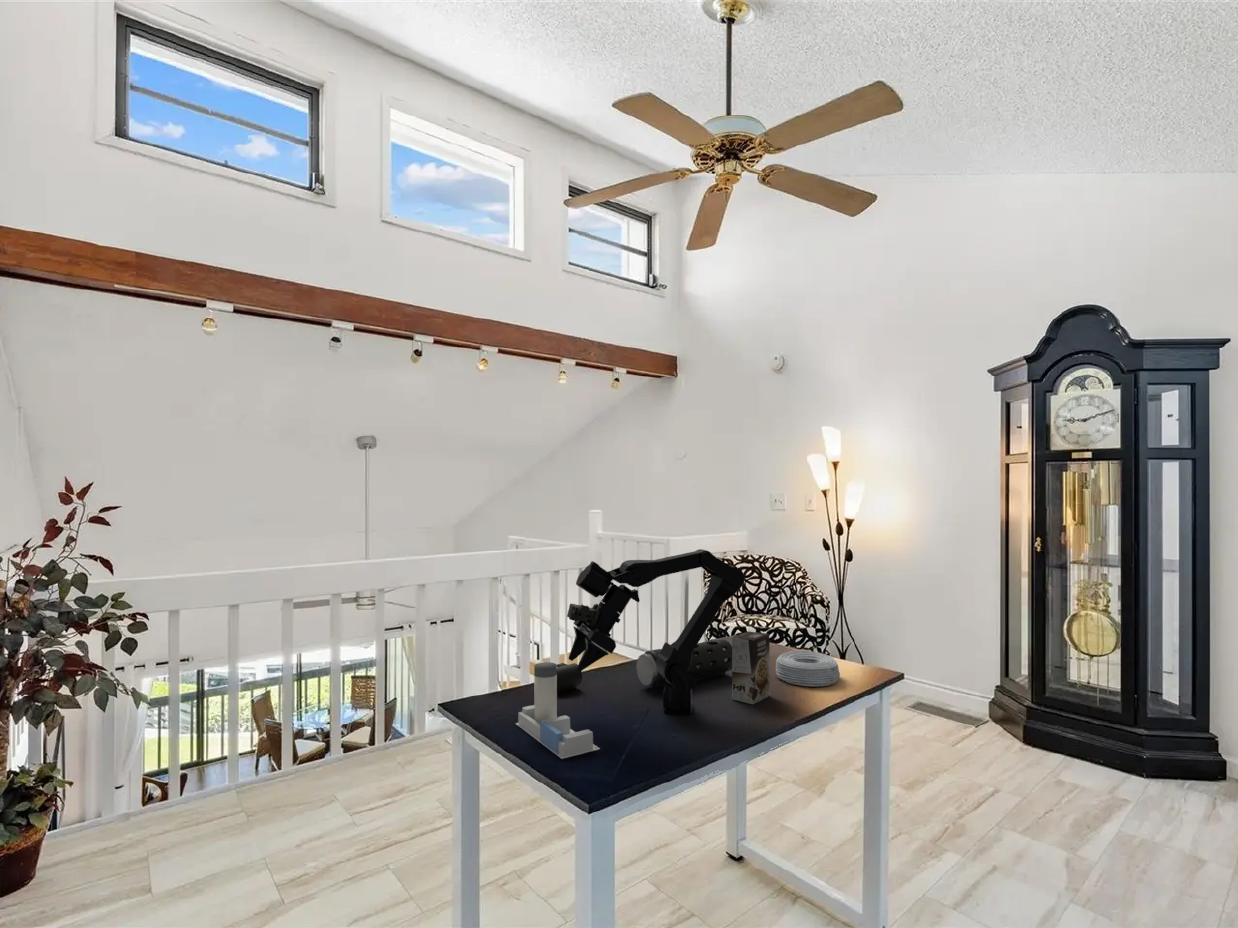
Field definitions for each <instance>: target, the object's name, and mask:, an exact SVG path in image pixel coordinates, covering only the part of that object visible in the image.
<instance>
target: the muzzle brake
mask: <svg viewBox="0 0 1238 928" xmlns="http://www.w3.org/2000/svg"><path fill="white" fill-rule="evenodd" d="M661 650H662V648H658V649H656V648H655V649H652V650H647V651H645V652H644V653H642V654H640V655H639V656H638V657H637V660H636V672H637V676H638V679H639V681H640V683H642V685H644V686H646V687H647V686H650V687H652V688H657V687H661V686H662V687H663V686H664V688H665V685H666V683H667V682H666V681H665V680H664V678H663V676H662V675H661V674H660V673H659V672H658V671H657V669H656V660H657V658H658V657H657V656H656V655H657V654H658V653H659V652H660V651H661ZM730 671H731V672H732V643H730V642H729V641H728V640H727V639H717V640H712V641H705V642H700V643H699V642H698V644H697V645H696V647H695V648H694V650H693V653H692V658H691V664H690V666H689V669H688V671H687V672H688V673H689V674H690V675H691V676H692V677H693V678H695V679H696V680H704V679H709V678H715V677H720V676H724V675H726V673H727V672H730Z"/></svg>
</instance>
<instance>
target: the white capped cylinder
mask: <svg viewBox="0 0 1238 928" xmlns="http://www.w3.org/2000/svg"><path fill="white" fill-rule="evenodd" d="M533 667H534V668H533V674H534V675H533V677H534V681H533V682H534V683H533V684H534V685H533V686H534V687H533V688H534V692H533V693H534V695H533V696H534V697H533V699H534V700H533V701H534V704H533V705H534V720H535V721H536V722H537V723H539V724H540V722H541V720H546V719H551V718H555V717H558V714H557V713H558V709H557V708H558V701H557V700H558V693H557V663H554V662H547V661H546V662H543V661H542V662H538V663H535V664H534V666H533Z"/></svg>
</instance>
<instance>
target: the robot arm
mask: <svg viewBox="0 0 1238 928" xmlns="http://www.w3.org/2000/svg"><path fill="white" fill-rule="evenodd" d="M698 568H702V569H703V570H704V571H705V572H706V573H708V574H709V575H710V578H709V583H708V588H707V592H706V594H705V596H704V597H703V599H702V600H701V602H700V603H699V605H698V606H697V608H696V610H695V611H694V613H693V614H692V615H691V617H690V619H689V620H688V622H687V624H686V625H685V627H684V628H683V630H682V631H681V632H680V634H679V636H678V638H677V639H676V640H675V641H674V642H671V644H670V643H669V642H667V641H666V642H664V644H663V645H662V648H661V649H662V650H661V651H660V652H659V653H658V654H657V655H656V656H657V657H658V658H657V660H656V669H657V671H658V672H659V673H660V674H661V675H662V676H663V678H664V680H665V681H666V682H667V683H666V685H665V687H664V689H663V691H662V708H663V713H664V714H674V715H675V714H676V715H687V716H688V715H689V716H690V715H691V714H692V711H693V709H694V704H693V689H695V685H696V683H697V679H695V678H693V677H692V676H691V675H690V674H689V673H688V672H687V671H688V669H689V666H690V664H691V658H692V653H693V650H694V648H695V647H696V645H697V644H699V642H700V640H701V639H702V637H703V636H704V635H705V633H706V631H707V629H708V628H709V626H710V625H711V623H712V622H713V620H714V619H715V617H716V615H717V614H718V612H719V610H720V609H721V607H722V606H723V604H724V603H726V601H728V600H729V599H731V598H732V597H733V596H735V595H736V594H737V592H738V591H740V589H741V588H742V586H744V583H745V573H744V572H743V569H741V568H740V567H737V566H735V565H731V564H728V563H726V562H725V561H723V560H722V559H720V558H718V557H717V556H715V554H713V553H711V551H709V550H706V549H701V548H699V549H696V550H694V551H691V552H686V553H682V554H681V553H680V554H676V555H671V556H668V557H667V556H666V557H663V558H662V557H661V558H658V559H657V558H656V559H629V560H625V561H623V562H622V563H621V565H620V566H619V567H616V568H614V569H612V570H608V571H607V570H606V569H604V568H603V567H601V566H600V565H599V564H598V563H597V562H595V561H594V560H593V561H590V563H589V564H588V565H587V566H586V567H585V568H584V569H583V570H582V571H580V573H579V575H578V577H577V579H576V582H575V584H576V586H577V587H579V588H581V589H582V590H583V591H585V592H586V593H588V594H589V595H591V596H592V597H594V598H599V597H602V599H601V600H600V601H599V603H595V604H593V605H592V607H590V606H588V605H585V604H576V603H570V604H569V606H568V610H567V615H566V617H567V618H568V619H569V620H570V621H573V630H574V634H575V636H574V637H575V638H574V640H573V644H572V647H571V650H570V652H569V655H568V660H569V661H572V662H573V661H574V660H576V659H577V658H578V657H579V656H580V655H582V656H581V658H580V660H579V662H578V664H577V665H578V666H577V670H579V671H583V670H585V669H586V668H588V667H589V666H591V665H593V664H595V663H596V662H597V661H599V660H601V659H602V658H604V657H606V656H608V655H610V654H613V652H614V651H615V649H616V648H617V644H616V640H615V639H613V638H612V637H611V635H612V634H611V633H610V632H611V631H612V629H613V627H614V626H615V624H616V623H617V624H619V623H620V622H621V618H620V617H621V615H622V613H623V612H624V610H625V609H626V607H627V606H628V604H629V602H630V600H631V599H632V600H633V601H635V602H636V603H640V597H639V591H638V590H637V589H635V588H639V587H642V586H645V585H647V584H649V583H651V582H653V581H654V580H656V579H657V578H660V577H663V576H667V575H672V574H676V573H680V572H685V571H690V570H695V569H698ZM612 581H615V582H617V583H618V584H620V585H617V584H615V583H613V582H612ZM625 584H626V585H629V586H630V587H632V588H634V589H630V588H629V587H627V586H626V585H625Z"/></svg>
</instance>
